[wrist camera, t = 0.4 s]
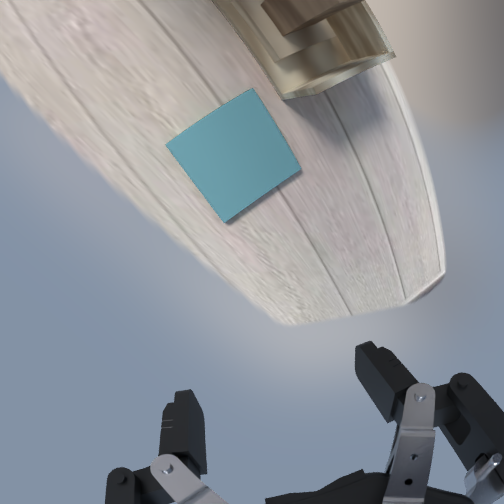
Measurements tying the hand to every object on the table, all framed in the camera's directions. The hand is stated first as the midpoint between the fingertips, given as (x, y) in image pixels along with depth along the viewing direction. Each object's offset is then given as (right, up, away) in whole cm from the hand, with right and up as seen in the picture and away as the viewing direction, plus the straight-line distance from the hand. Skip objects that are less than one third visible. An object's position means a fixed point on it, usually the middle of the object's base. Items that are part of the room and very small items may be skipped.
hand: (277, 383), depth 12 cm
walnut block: (+3, +34, +11) cm, 36 cm away
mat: (-3, +18, +20) cm, 27 cm away
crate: (+3, +35, +14) cm, 38 cm away
